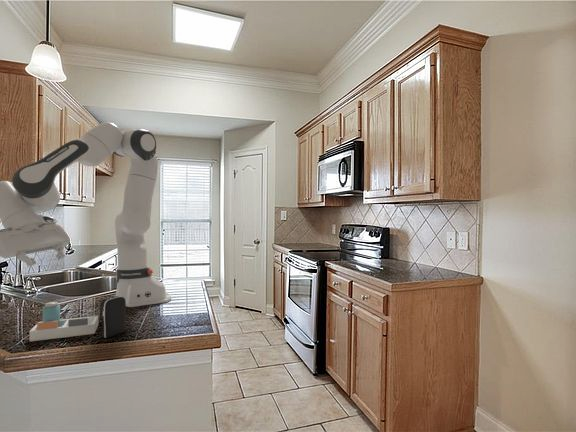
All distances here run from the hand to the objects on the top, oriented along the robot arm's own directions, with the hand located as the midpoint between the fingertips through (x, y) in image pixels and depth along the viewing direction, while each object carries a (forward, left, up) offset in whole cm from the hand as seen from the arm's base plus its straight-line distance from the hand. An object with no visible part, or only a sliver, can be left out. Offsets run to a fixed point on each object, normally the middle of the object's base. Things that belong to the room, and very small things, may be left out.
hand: (48, 261), depth 104 cm
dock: (-5, +1, -22) cm, 23 cm away
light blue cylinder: (-1, +1, -22) cm, 22 cm away
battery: (-18, +9, -23) cm, 30 cm away
